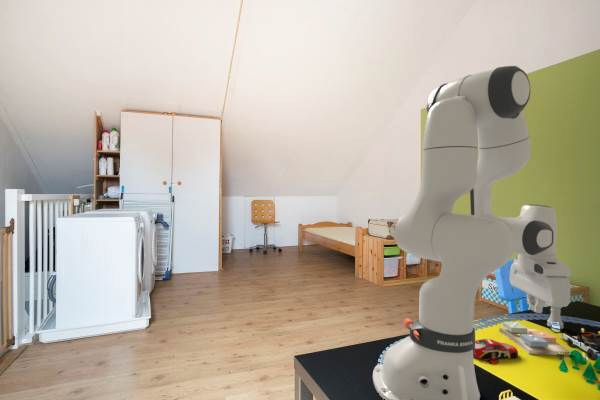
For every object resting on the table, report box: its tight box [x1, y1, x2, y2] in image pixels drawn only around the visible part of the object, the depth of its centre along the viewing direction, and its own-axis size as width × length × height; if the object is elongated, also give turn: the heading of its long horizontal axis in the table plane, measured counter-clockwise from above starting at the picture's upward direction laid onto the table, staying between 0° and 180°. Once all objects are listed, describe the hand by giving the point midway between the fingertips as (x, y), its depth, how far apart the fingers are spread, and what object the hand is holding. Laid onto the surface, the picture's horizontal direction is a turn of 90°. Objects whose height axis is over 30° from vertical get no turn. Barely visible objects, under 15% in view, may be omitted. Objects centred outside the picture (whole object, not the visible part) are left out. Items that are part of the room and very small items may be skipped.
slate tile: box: [520, 334, 548, 347], centre depth 92 cm, size 5×5×2 cm
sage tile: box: [502, 321, 528, 333], centre depth 101 cm, size 5×5×2 cm
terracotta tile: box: [529, 330, 557, 343], centre depth 97 cm, size 5×5×2 cm
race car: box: [473, 338, 519, 361], centre depth 89 cm, size 13×5×4 cm, turn 95°
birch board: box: [498, 327, 572, 356], centre depth 97 cm, size 11×15×1 cm
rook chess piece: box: [546, 304, 565, 330], centre depth 108 cm, size 4×4×8 cm
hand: (535, 311), depth 93 cm, fingers closed
